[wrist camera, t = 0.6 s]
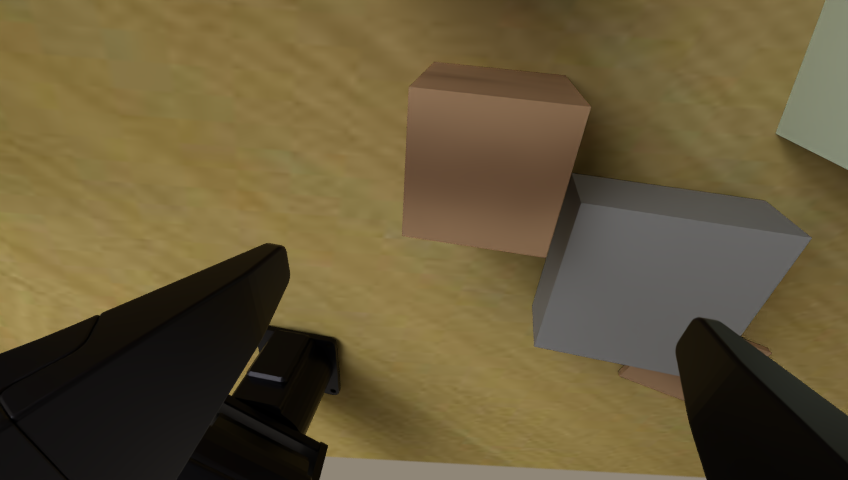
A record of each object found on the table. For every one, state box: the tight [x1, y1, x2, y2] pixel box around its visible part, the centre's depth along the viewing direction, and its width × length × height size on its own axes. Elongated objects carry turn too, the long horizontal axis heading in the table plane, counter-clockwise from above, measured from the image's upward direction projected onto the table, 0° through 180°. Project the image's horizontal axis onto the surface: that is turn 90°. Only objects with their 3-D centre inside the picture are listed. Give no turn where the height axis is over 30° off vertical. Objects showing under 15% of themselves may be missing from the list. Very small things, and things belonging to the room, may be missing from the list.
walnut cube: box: [402, 62, 591, 258], centre depth 17 cm, size 6×6×6 cm
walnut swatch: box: [618, 340, 772, 401], centre depth 25 cm, size 6×6×1 cm
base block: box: [532, 173, 812, 376], centre depth 20 cm, size 9×9×4 cm
